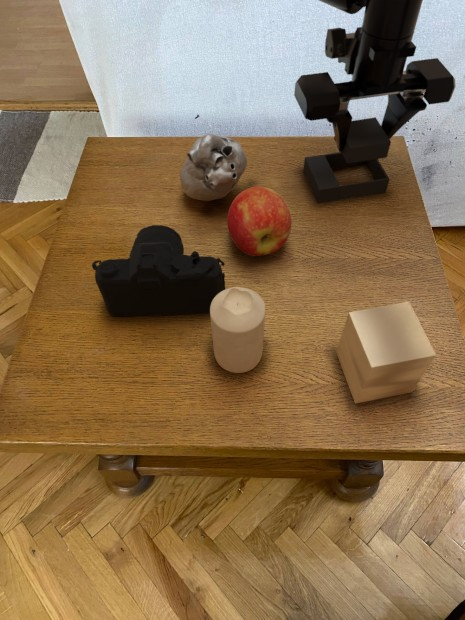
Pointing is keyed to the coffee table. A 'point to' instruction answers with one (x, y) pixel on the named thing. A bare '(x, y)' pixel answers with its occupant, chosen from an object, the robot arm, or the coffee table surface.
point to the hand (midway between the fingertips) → (360, 147)
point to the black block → (365, 141)
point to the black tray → (328, 186)
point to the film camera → (159, 277)
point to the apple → (259, 221)
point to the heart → (212, 167)
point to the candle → (237, 328)
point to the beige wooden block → (383, 351)
